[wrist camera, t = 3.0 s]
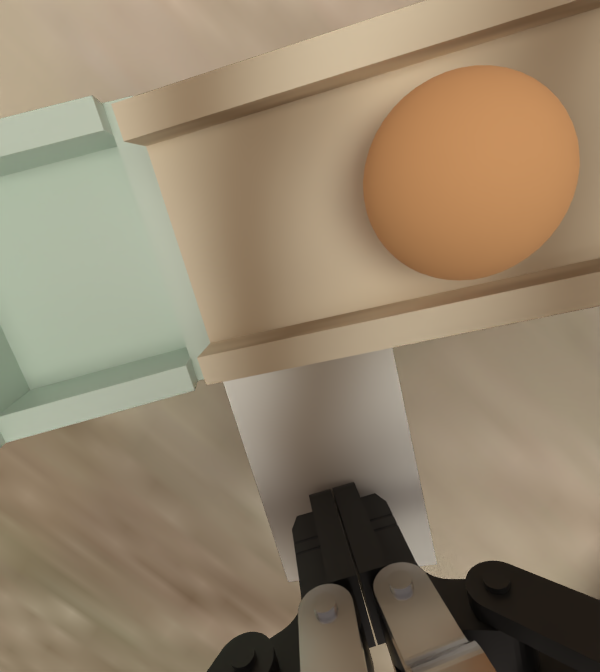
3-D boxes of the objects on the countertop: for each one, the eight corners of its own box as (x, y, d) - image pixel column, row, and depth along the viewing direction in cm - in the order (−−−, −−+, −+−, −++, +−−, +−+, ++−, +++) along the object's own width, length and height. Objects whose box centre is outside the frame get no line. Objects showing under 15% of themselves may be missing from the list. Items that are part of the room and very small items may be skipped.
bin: (149, 112, 17) (81, 44, 10) (226, 354, 20) (212, 426, 13) (-86, 173, 17) (-314, 143, 10) (25, 409, 19) (-95, 512, 13)
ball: (378, 112, 11) (565, 47, 9) (407, 268, 12) (579, 241, 10) (310, 101, 8) (578, -4, 6) (359, 316, 9) (598, 289, 7)
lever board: (942, -107, 11) (1440, -355, 6) (876, 434, 15) (1137, 554, 10) (180, 129, 14) (91, 96, 9) (298, 517, 18) (279, 636, 13)
